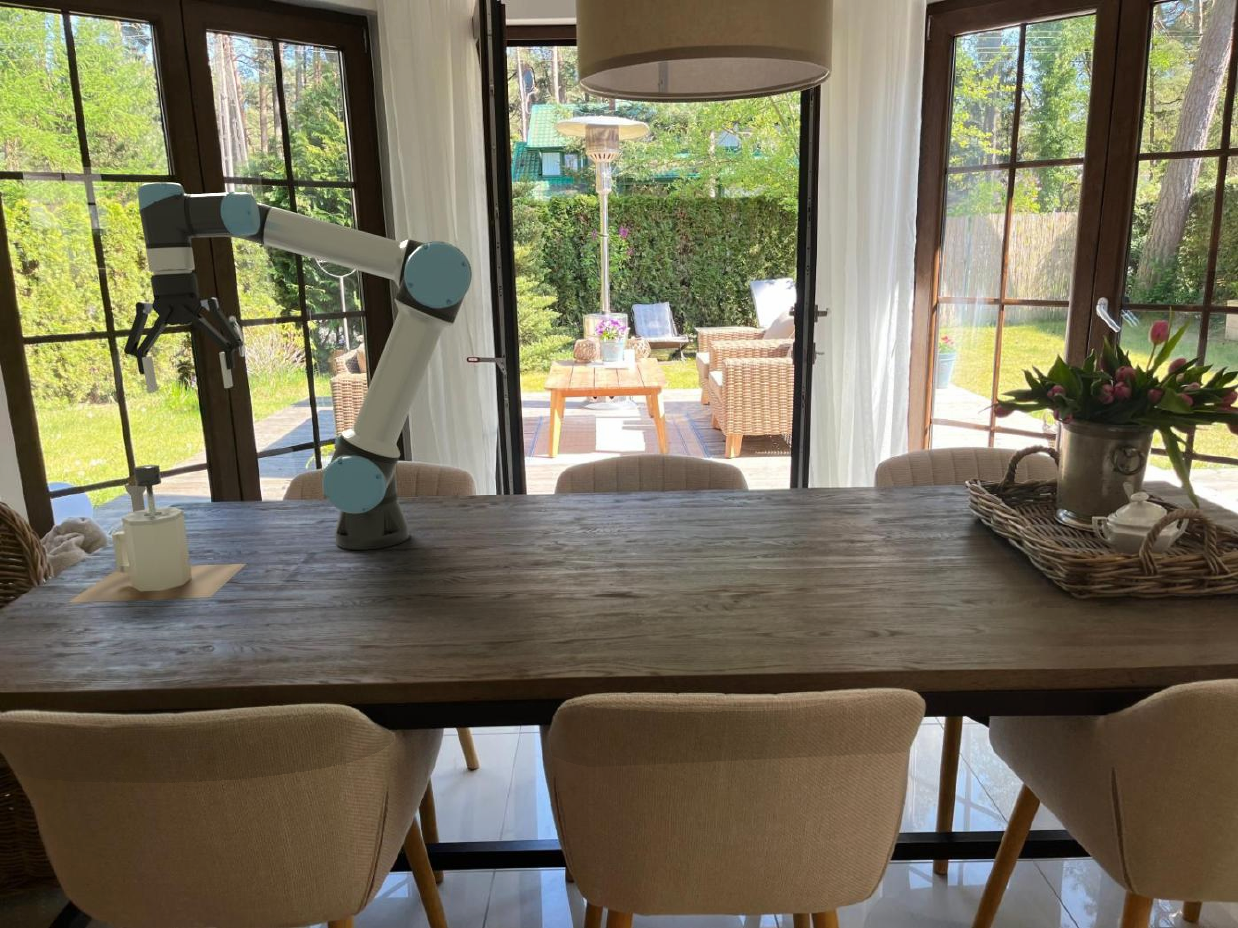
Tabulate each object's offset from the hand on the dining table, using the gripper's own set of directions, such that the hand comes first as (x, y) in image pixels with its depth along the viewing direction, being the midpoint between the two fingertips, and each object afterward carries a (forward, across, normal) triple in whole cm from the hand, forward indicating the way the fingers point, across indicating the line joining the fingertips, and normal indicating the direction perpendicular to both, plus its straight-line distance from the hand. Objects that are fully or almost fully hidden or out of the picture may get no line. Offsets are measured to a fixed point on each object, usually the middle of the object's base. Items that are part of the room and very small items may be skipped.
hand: (190, 389), depth 169 cm
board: (+35, +6, +11) cm, 37 cm away
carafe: (+33, +7, +11) cm, 36 cm away
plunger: (+32, +6, +11) cm, 34 cm away
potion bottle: (+35, +16, -8) cm, 39 cm away
